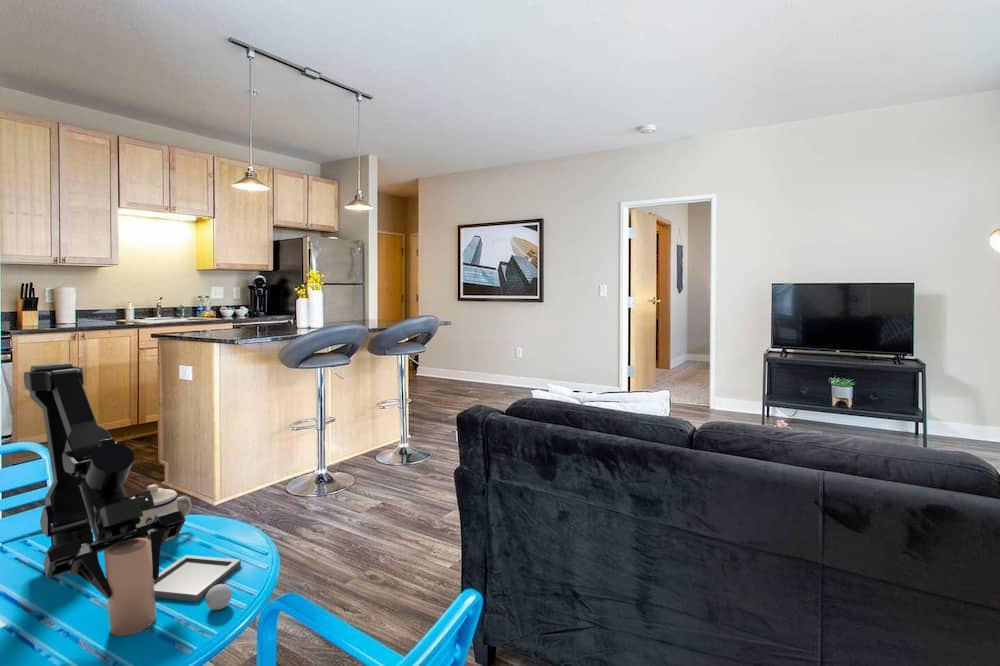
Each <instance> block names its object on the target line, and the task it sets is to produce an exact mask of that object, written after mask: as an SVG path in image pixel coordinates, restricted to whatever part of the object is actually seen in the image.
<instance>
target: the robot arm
mask: <svg viewBox="0 0 1000 666" xmlns="http://www.w3.org/2000/svg"><path fill="white" fill-rule="evenodd" d="M23 383H24V388H25V389H26V390H27V391H28V392H29V395H30V396H29V397H30V399H31V400H32V401H33V402H34V403H35V404H36V405H38V406H39V408H41V409H42V412H43V420H44V426H45V433H46V441H47V447H48V454H49V460H50V468H51V475H52V483H51V485H50V487H49V489H48V491H47V493H46V495H45V496H44V502H45V506H43V508H42V510H41V515H40V519H39V523H40V530H41V533H42V534H44V535H45V536H46V538H50V543H51V546H50V547H49V548H47V551H46V554H45V556H44V560H43V568H44V573H45V576H46V579H47V578H50V579H51V578H53V577H54V578H55V577H56V576H60V575H63V574H65V573H68V575H69V576H74V575H78V576H79V577H81V578H82V579H84V580H85V581H87V582H88V583H90V584H91V586H93V587H94V588H95V589H96V590H97V591H98V592H99V593H100V594H101V595H103V596H104V597H105V598H106V599H107V600H108V599H109V598H110V597H111V592H110V588H109V585H108V582H107V580H106V574H105V572H104V571H103V569H102V567H101V563H100V560H99V555H98V553H101V552H104V551H105V550H106V549H107V548H108V547H110V546H111V545H113V544H116V543H118V542H121V541H124V540H128V539H134V538H147V539H149V540H150V541H151V550H152V565H153V578H154V580H155V581H156V580H157V579H158V577H159V573H160V560H161V559H160V558H161V556H160V555H161V549H162V545H164V544H165V543H166V542H165V540H166V539H168V538H171V537H174V536H175V537H176V536H178V534H180V532H181V530H182V528H183V526H184V524H185V522H186V517H184V514H183V512H184V511H182V510H180V509H179V508H177V509H174V510H171V511H167V512H164V513H161V514H157V515H155V518H154V520H153V522H152V524H148V525H145V526H142V527H139V528H137V526H136V524H139V523H140V521H141V519H140V517H142V516H143V512H142V511H146V510H149V509H151V508H153V507H154V502H153V497H152V495H151V492H150V490H147V489H146V490H142V491H139V492H136V493H135V494H134V496H135V498H133V497H132V498H133V499H131V498H130V497H129V496H128V495H127V493H126V490H125V488H124V483H125V482H127V479H128V477H129V474H130V470H131V468H132V466H133V463H134V460H135V453H134V451H133V450H132V449H131V448H130V447H129V446H127V445H125V444H122V443H118V442H116V441H115V439H114V438H113V437H112V435H111V433H110V431H109V430H107V429H106V428H104V427H102V426H100V425H99V424H98V423H97V421H96V418H95V415H94V413H93V410H92V407H91V405H90V402H89V399H88V397H87V394H86V391H85V388H84V385H85V380H84V371H83V366H76V365H75V366H74V365H73V364H72V362H71V361H68V362H66V361H65V362H56V363H47V364H36V365H35V364H34V365H31V366H30V370H29V371H24V372H23ZM84 476H85V478H84ZM175 537H174V538H175Z"/></svg>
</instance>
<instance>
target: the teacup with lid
mask: <svg viewBox="0 0 1000 666" xmlns="http://www.w3.org/2000/svg"><path fill="white" fill-rule="evenodd" d="M146 490H150V492H151V495H152V497H153V502H154V507H153V508H151V509H149V510H146V511H142V512H143V516H142V517H140V519H141V521H140V523H139V524H136V526H137V528H139V527H142V526H145V525H148V524H152V522H153V520H154V518H155V515H157V514H161V513H164V512H167V511H171V510H174V509H178V503H179V502H181V501H186V507H185V510H184V511H182V512H183V514H184V517H185V518H186V517H187V516H188V515H189V513H190V512H191V510H192V501H191V498H189V497H188V496H182V495H181V496H179V494H178V492H177V491H176V490H174V489H170V488H168V489H167V488H162V487H159V485H157V484H156V483H155V484H154V483H153V484H150V485H148V486H147V487H146ZM133 498H135V495H134V496H133V497H131V498H130V499H133ZM174 538H176V536H174V537H171V538H168V539H166V540H165V543H166V542H168V541H169V542H170V541H171V540H172V539H174Z"/></svg>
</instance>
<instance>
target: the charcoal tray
mask: <svg viewBox="0 0 1000 666" xmlns="http://www.w3.org/2000/svg"><path fill="white" fill-rule="evenodd" d="M241 563H242V562H241V559H239V558H238V559H236V558H234V559H233V558H225V557H214V556H202V555H190V554H184V556H182V557H181V558H179V559H177V560H175V562H173V563H172V564H170V565H169V566H167V567H166V568H164V569H163V570H161V571H159V577H158V579H157V580H156V581H155V580H154V593H155V598H159V599H160V598H161V599H168V600H169V599H170V600H178V601H179V600H181V601H187V602H188V601H190V602H199V601H200V600H201V599H202V598H203V597H204V596H205V597H206V594H207V593H208V591H209V590H210V589H211V588H212V587H213V586H215V585H218V584H221V582H222V581H224V580H225V579H227V576H228V575H229V574H230V573H231V574H233V573H234V572H235V571H236V570H237V569H238V567H239V566H240V565H241V566H242V564H241ZM241 566H240V567H241ZM240 567H239V568H240ZM235 569H236V570H235ZM234 570H235V571H234ZM233 571H234V572H233ZM231 574H230V575H231ZM230 575H229V576H230ZM229 576H228V577H229ZM153 579H154V578H153Z"/></svg>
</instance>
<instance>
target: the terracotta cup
mask: <svg viewBox="0 0 1000 666" xmlns="http://www.w3.org/2000/svg"><path fill="white" fill-rule="evenodd" d="M103 555H104V557H103V558H104V569H105V572H104V573H105V578H106V580H107V582H108V585H109V588H110V592H111V597H110V598H109V599H107V607H108V608H107V609H108V621H109V631H110V633H111V635H113V636H116V637H124V636H129V635H135V634H136V633H139V632H142V631H143V630H145V629H147V628H149V627H150V626H149V624H151V623H152V624H154V622H156V619H157V609H156V608H157V607H156V597H155V593H154V579H153V565H152V550H151V541H150V540H149V539H147V538H134V539H128V540H124V541H121V542H118V543H116V544H113V545H111V546H110V547H108V548H107V549H106V550H105V551H103ZM152 624H151V625H152Z"/></svg>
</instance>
